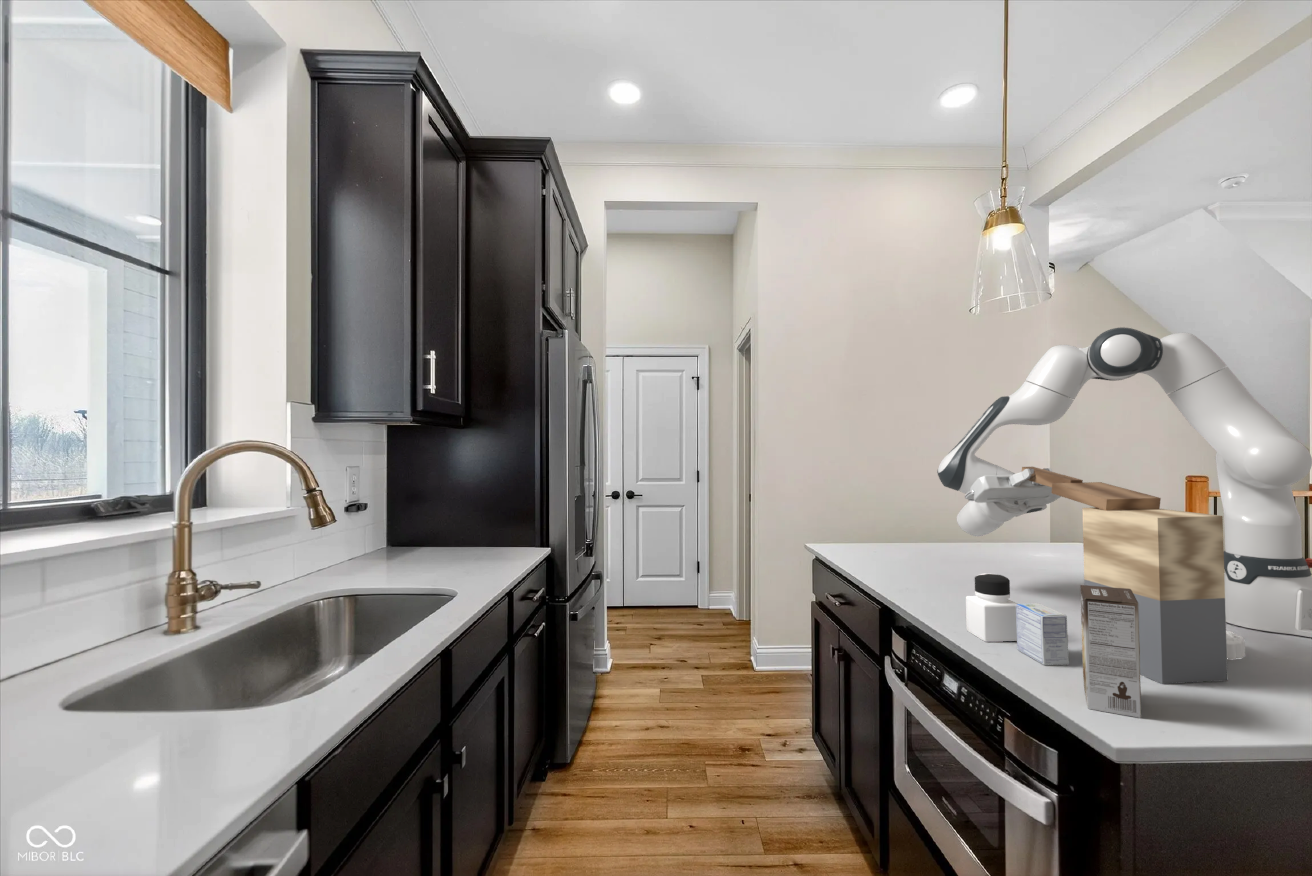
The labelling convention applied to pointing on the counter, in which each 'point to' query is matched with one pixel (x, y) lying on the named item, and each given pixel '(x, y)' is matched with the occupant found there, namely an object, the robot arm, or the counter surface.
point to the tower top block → (1155, 552)
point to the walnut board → (1094, 492)
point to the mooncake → (1234, 645)
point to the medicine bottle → (991, 609)
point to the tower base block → (1181, 639)
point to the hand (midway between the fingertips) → (1040, 471)
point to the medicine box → (1042, 633)
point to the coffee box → (1111, 650)
